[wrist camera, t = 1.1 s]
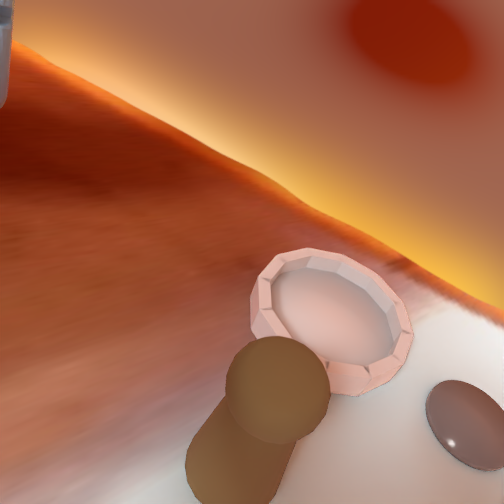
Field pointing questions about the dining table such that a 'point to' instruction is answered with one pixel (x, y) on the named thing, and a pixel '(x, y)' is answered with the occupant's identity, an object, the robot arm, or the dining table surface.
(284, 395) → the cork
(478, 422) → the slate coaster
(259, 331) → the pink flat ring
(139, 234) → the dining table surface
